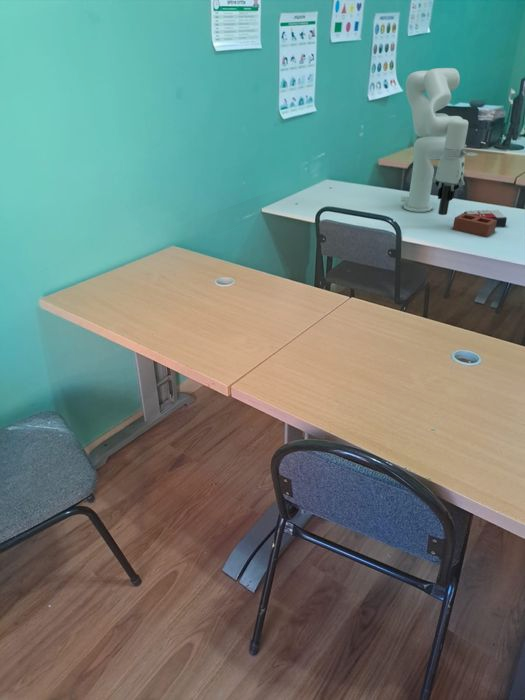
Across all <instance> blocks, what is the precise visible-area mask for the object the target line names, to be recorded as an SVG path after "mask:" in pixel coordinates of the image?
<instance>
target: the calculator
mask: <svg viewBox="0 0 525 700" xmlns="http://www.w3.org/2000/svg"><path fill="white" fill-rule="evenodd" d="M463 213H465V214H470V215H475V216H480V217H485V218H489V219H494V220H497V223H496V228H497V227H506V224H507V219H508V217H506V216H505V214H503V213H502V212H501V211H500V210H499V209H479V210H465V211H464V212H463Z"/></svg>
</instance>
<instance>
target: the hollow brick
mask: <svg viewBox="0 0 525 700" xmlns="http://www.w3.org/2000/svg"><path fill="white" fill-rule="evenodd" d="M496 223H497V220H494V219H489V218H485V217H480V216H475V215H470V214H465V213H464V212H463V213H460V214H459V215H457V216H455V217H454V220H453V224H452V230H455V231H459V232H463V233H468V234H473V235H476V236H481V237H485V238H487V237H489V236H490V235H492V234H493V233H495V231H496V228H497V226H496Z"/></svg>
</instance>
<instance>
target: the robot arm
mask: <svg viewBox="0 0 525 700" xmlns="http://www.w3.org/2000/svg"><path fill="white" fill-rule="evenodd" d="M460 77H461V76H460V72H459V71H458V70H457V68H454V67H437V68H436V67H435V68H432V69H429V70H418V71H414V72H411V73H410V74H409V75H407V78H406V81H405V95H406V98H407V102H408V104H409V106H410V110H411V116H412V117H411V118H412V125H413V130H414V134H415V135H416V136H417V137H418V138H417V139H415V141H414V143H413V149H412V150H413V153H412V155H413V158H412V159H413V160H412V161H413V162H412V171H411V179H410V184H409V192H408V196H405V195H402V196H401V197H400V201H401V202H403V203H404V202H405V203H404V204H403V208H404V210H407V211H410V212H413V213H414V212H415V213H425V212H430V211H431V210H432V208H433V206H432V204H430V199H431V193H432V187H433V184H434V183H435V185H436V187H437V199H438V200H440V199H441V193H442V188H443V184H451V190H450V191H449V195H448V201H449V202H450V201H452V200H453V199H454V198H455V192H456V190H458V189H459V188H460V187H463V186H465V185H466V183H465V181H464V175H465V165H466V163H465V162H466V161H465V160H466V159H465V156H466V155H467V154H468V152H467V151H466V150H465V146H466V140H467V135H468V130H469V121H468V120H467V119H464V118H463V117H462V116H459V115H448V114H446V113H444V112H443V113H442V112H441V113H436V112H438V111H440V110H442V109H444V108H446V107H447V106H448V105H449V104H450V102H451V100H452V91H455V90H456V89H457V88H458V87H459V85H460V82H461V80H460V79H461V78H460ZM424 93H426V95H427V96H426V95H425V94H424ZM433 160H439V161H438V164H437V168H436V172H435V168H434V166H433V163H432V161H433Z"/></svg>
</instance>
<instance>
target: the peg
mask: <svg viewBox="0 0 525 700" xmlns="http://www.w3.org/2000/svg"><path fill="white" fill-rule="evenodd" d="M450 190H451V183H444V184H443V188H442V193H441V199H439V205H438V210H437V211H438V212H437V214H438V215H440V216H446V215H447V214H448V212H449V211H448V209H449V205H450V201H448V195H449V191H450Z"/></svg>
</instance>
